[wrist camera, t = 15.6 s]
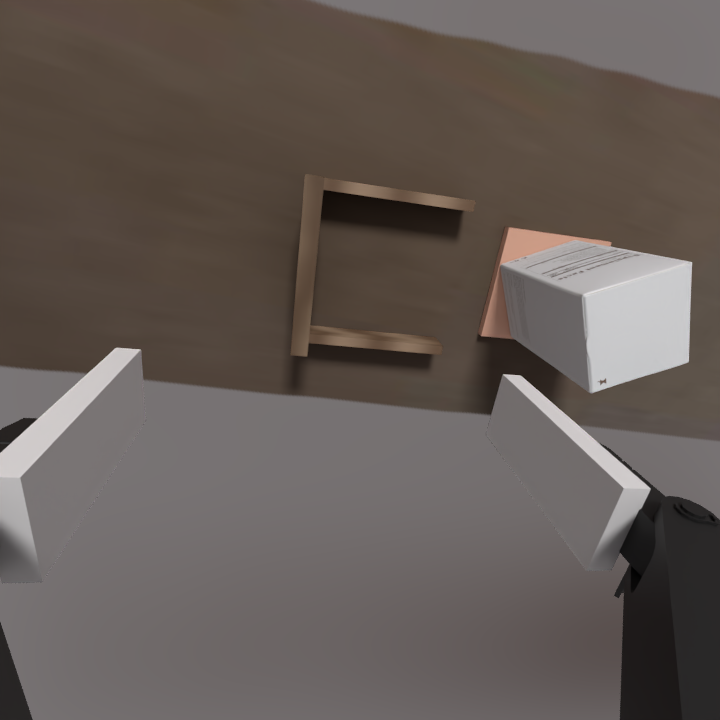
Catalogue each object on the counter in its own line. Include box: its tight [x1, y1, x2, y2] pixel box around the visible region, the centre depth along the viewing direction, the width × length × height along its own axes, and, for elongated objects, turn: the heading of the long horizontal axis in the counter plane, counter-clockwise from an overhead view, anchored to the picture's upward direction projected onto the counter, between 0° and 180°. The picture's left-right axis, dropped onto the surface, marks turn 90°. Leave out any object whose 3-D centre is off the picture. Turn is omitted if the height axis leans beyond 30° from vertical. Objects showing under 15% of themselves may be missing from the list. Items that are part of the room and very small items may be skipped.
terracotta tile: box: [478, 227, 611, 339], centre depth 47 cm, size 12×12×1 cm
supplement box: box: [500, 240, 692, 393], centre depth 40 cm, size 9×9×15 cm
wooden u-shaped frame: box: [290, 174, 476, 357], centre depth 41 cm, size 16×16×7 cm
